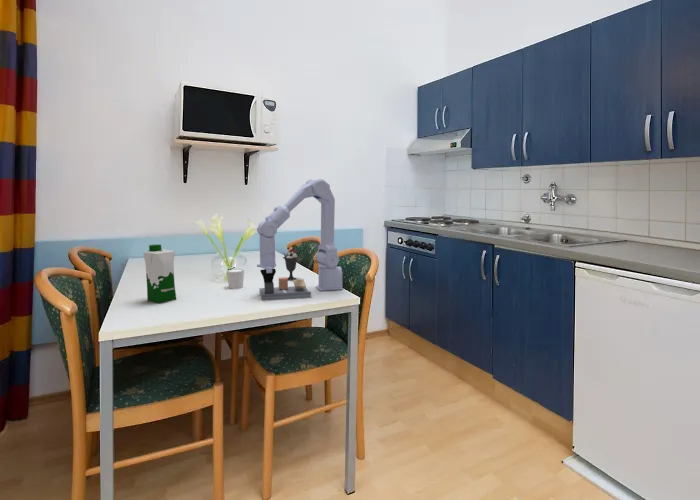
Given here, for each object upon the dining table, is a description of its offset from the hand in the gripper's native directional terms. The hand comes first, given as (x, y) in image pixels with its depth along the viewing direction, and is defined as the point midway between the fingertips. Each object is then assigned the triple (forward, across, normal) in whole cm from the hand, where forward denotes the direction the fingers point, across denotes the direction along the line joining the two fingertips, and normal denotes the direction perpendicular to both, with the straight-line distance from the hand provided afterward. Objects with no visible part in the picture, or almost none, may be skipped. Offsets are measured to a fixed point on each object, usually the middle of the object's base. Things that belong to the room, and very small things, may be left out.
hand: (268, 288), depth 164 cm
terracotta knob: (+1, -4, +6) cm, 7 cm away
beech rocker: (-1, -1, +12) cm, 12 cm away
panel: (+3, 0, +6) cm, 7 cm away
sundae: (+3, -28, +12) cm, 30 cm away
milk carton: (+3, -2, -38) cm, 38 cm away
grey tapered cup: (+3, -18, -12) cm, 21 cm away
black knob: (+1, +3, 0) cm, 3 cm away
